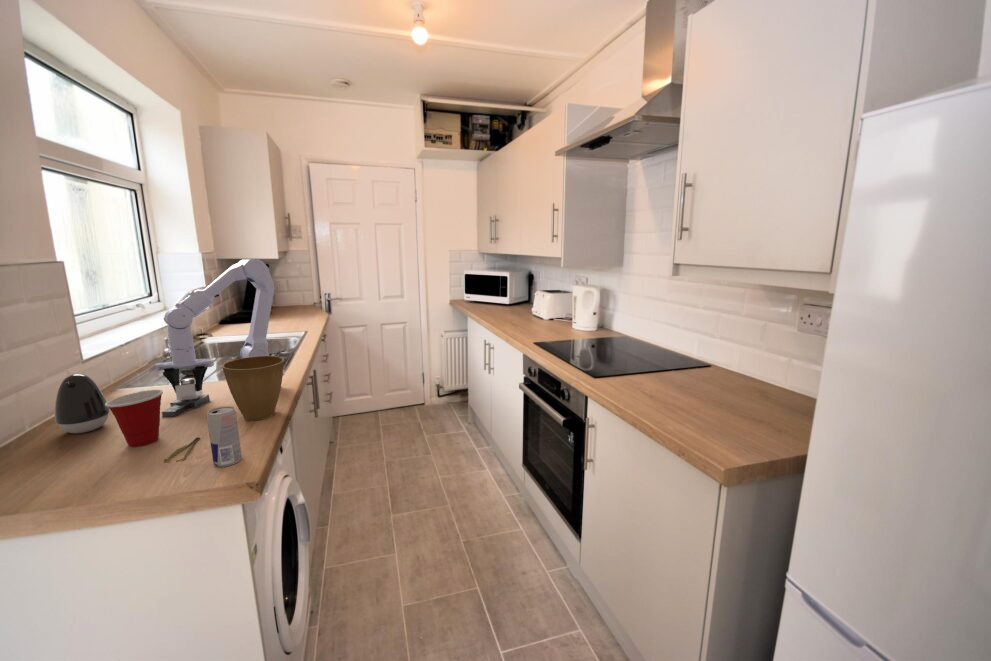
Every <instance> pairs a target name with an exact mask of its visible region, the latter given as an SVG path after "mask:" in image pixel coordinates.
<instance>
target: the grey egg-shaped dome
mask: <svg viewBox="0 0 991 661" xmlns="http://www.w3.org/2000/svg"><path fill="white" fill-rule="evenodd" d="M106 402H108V401H107V399H106V397H105V395H104V394H103V392H102V390H101V389H100V387H99V386H98V385H97V383H96V382H95V381H94V380H93V379H92V378H91V377H89V376H87V375H86V374H81V373H74V374H71V375H68V376H66V377H65V378H64V379H63V380H62V381H61V383H60V385H59V387H58V389H57V393H56V397H55V403H54V421H55V423H56V424H57V425H58V426H59V428H60V429H61V430H62V431H64V432H66V433H69V434H84V433H88V432H91V431H92V432H93V431H95V430H97V429H98V428H101V427H102V426H103V425H104V424H105V423H106V422H107V420H108V418H109V413H110V412H111V410H110V409H109V408H108V407H106V406H105V403H106Z"/></svg>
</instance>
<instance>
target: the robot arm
mask: <svg viewBox="0 0 991 661" xmlns="http://www.w3.org/2000/svg"><path fill="white" fill-rule="evenodd" d="M244 280H246V281H249V282H250V283H251V284H252V286H253V287H254V288H255V289H256V290H255V297H254V301H253V302H254V303H253V307H252V308H253V309H252V315H251V320H250V324H249V326H250V327H249V332H248V335H247V337H246V338H245V341H244V344H243V346H242V347H241V348H240V352H239V353H240V358H247V357H256V356H270V352H269V342H268V340H267V334H268V328H269V323H270V318H271V312H272V307H273V306H272V305H273V299H274V295H275V283H274V280H273V278H272V275H271V274H270V268H269V267H268V266H267V264H265V262H264V261H262V260H261V259H258V258H252V259H250V258H243V259H241V260H239V261H238V262H237V263H235V264H232V265H231V266H230V267H229V268H228V269H226V270H225V271H224V272H223V273H221V274H220V275H219V276H218V277H217V278H216V279H215V280H213V281H212V282H211V283H210V284H209V285H207V286H206V287H205V288H204V289H195V290H194V291H193V290H190V291H189V292H187V295H188V296H187V297H185V298H184V299H183V300H181V301H180V302H175V304H174V306H175V307H173V308H170V309H168V310H167V311H165V313H164V316H163V321H164V322H165V323H166V324H167V331H168V342H169V348H170V353H171V355H170V356H171V359H172V361H166V362H158V363H155V364H154V369H155V372H160V371H163V372H162V375H163V377H164V378H165V379H167V381H168V382H169V383H170V385H171V386H172V388H173V390H174V392H175V394H176V389H175V386H176V385H177V384H179V383H181V379H180V370H179V369H182V368H195V369H193V370H192V372H193V375H194V378H195V382H196V389H197V391H200V390H202V391H203V384H204V383H203V382H204V378H205V376H206V375H205V374H206V372H207V371H208V368H212V367H214V366H215V363H214V362H215V361H214V359H197V357H196V351H195V342H194V337H193V331H192V327H191V325H192V324H193V321H194V320H193V319H194V318H197V317H198V316H200V314H202V313H203V312H204V311H205V310H206V309H208V308H209V307H210V306H212V304H213V303H214V297H216V296H217V295H218V294H219V293H221V292H222V291H223V290H225V289H226V288H227V287H229V286H230V285H232V284H233V283H234V282H237V281H244Z"/></svg>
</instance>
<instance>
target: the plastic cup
mask: <svg viewBox="0 0 991 661" xmlns="http://www.w3.org/2000/svg"><path fill="white" fill-rule="evenodd" d="M163 393H164V392H163V390H162V389H149V390H147V389H146V390H143V391H137V392H132V393H128V394H124V395H121V396H118V397H115V398H112V399H110V400H108V401H107V402H106V403H105V406H106V407H108V408H109V410H110V412H111V413H112V415H113V416H114V418H115V421H116V422H117V425H118V427H119V429H120V431H121V433H122V435H123V437H124V439H125V442H126V444H127V445H128V446H129V447H132V448H134V447H135V448H136V447H142V446H147V445H150V444H153V443H155V442H156V441H157V440H159V437H160V426H161V424H160V423H161V405H162V404H161V403H162V402H161V401H162V395H163Z"/></svg>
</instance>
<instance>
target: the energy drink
mask: <svg viewBox="0 0 991 661" xmlns="http://www.w3.org/2000/svg"><path fill="white" fill-rule="evenodd" d="M237 416H238V415H237V410H236V409H235V407H234V406H231V405H230V406H221V407H214V408H213V409H210V410H208V411H207V415H206V421H207V428H208V435H209V442H210V448H211V456H212V463H213V466H215V467H217V468H224V467H230V466H232V465H235V464H237V463H239V462H240V461H241V460H242V457H243V455H242V450H241V449H242V447H241V442H240V432H239V425H238V417H237Z"/></svg>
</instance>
